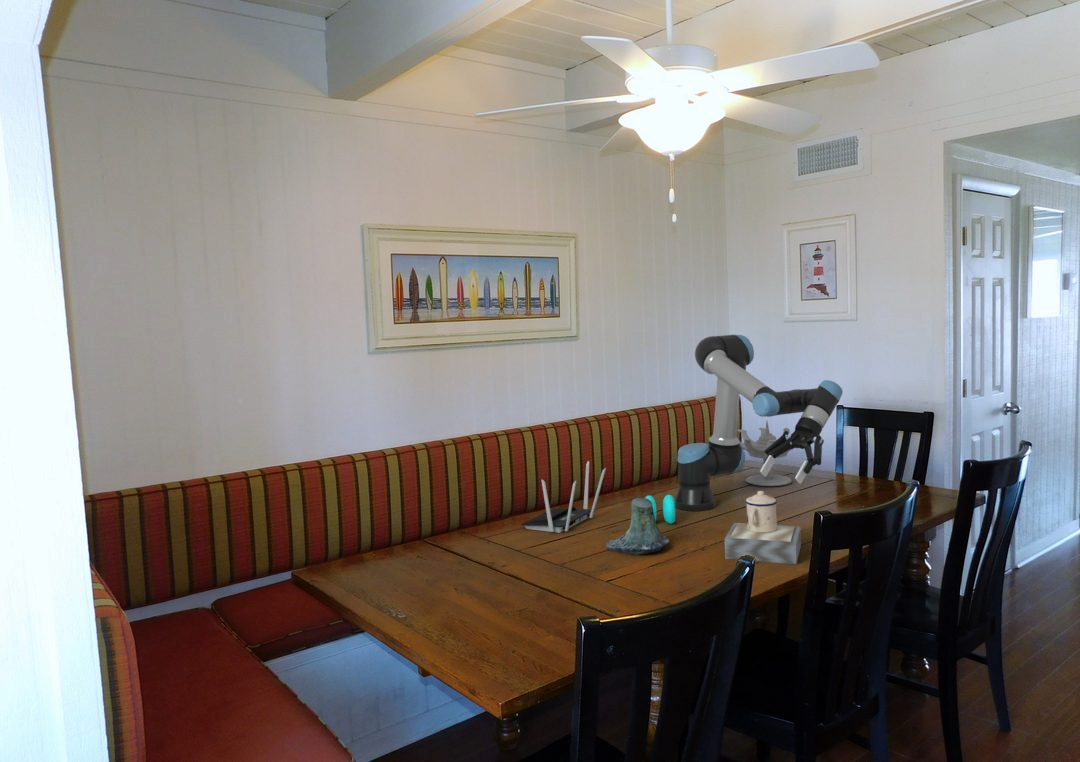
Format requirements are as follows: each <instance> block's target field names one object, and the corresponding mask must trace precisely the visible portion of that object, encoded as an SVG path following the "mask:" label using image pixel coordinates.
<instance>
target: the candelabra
mask: <svg viewBox="0 0 1080 762" xmlns="http://www.w3.org/2000/svg"><path fill="white" fill-rule="evenodd" d="M765 424H766V425H765V427H758V430H760V436H759V437H758V439H757V440H756V441H754V440H752V439H751V438H750V437H749V436H748V432H747V430H745V429H739V428H738V429H737V432H738V433H741V435H740V436H741V438H742V439H743V440H744V441H743V442H741V441H740V445H741V446H742V447H743V449H744V450H743V451H746V452H747V453H748V455H749V456H750V457H753V458H758V459H762V461H763V462H764V461H765V459H766V458H767V455H766V453H765V452H764V451H765V450H766V449H767V448H768V447H769V446H770V445H772V444H773V443H774V442H775V441H776V440H777V437H776V436H775V435H774V434H772V433H770V429H769V423H768V421H766V423H765ZM782 430H783V431H782V434H783V433H784V432H785V431H787V432H788V433H790V434H791V432H790V428H788V427H784V428H783V429H782ZM790 444H791V445H792V443H791V442H790ZM792 450H793V449H790V450H788V451H786V452H785V453H783V454H781V455H780V456H778V457H776V458H775V459H780V458H784V457H786V456H788V453H789V452H791V451H792ZM773 455H774V454H773ZM745 482H746V483H748V484H750V485H753V486H760V487H778V486H779V487H781V486H786V485H789V484H791V483H792V482H793V480H792V478H791V477H789V476H787V475H780V474H773V466H772V467H771V469H770V471H769V472H768V474H767V476H766V477H764V476H763V475H762V474H755V475H751V476H748V477H746V478H745Z"/></svg>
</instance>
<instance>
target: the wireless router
mask: <svg viewBox="0 0 1080 762" xmlns="http://www.w3.org/2000/svg"><path fill="white" fill-rule="evenodd" d="M585 465H586V466H585V479H584V493H583V494H584V495H583V506H582V507H583V508H580V507H579V508H575V506H573V505H574V498H575V493H576V486H577V480H574V482H573V483H572V488H571V493H570V498H569V499H570V500H569V505H568V507H565V508H553V509H551V508H550V502H549V498H548V491H547V486H546V484H547V483H546V481H545V480H544V479H540V480H541V486H542V491H543V492H542V493H543V498H544V504H545V511H546V512H544V513H542V514H540V515H537V516H534V517H533V518H531V519H529V520H527V521H524V522H522V523H521V526H523V527H524V528H525V529H526V530H534V531H541V532H550V533H558V534H559V533H562V532H564V531H565V532H569V530H570V528H572V527H574V526H576V525H578V524H579V523H581V522H583V521H585V520H587V519H588V518H590V519H592V518H593V517H594V513H595V510H596V506H597V502H598V498H599V496H600V492H601V491H600V490H601V487H602V485H603V480H604V478H605V474H606V471H607V467H604V469H602V471H601V474H600V477H599V481H598V484H597V489H596V491H595V496H594V499H593V503H592V507H591V509H589V508H588V505H589V503H588V502H589V480H590V479H589V476H590V475H589V474H590V461H589V460H588V461H587V462H586V464H585Z"/></svg>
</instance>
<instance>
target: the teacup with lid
mask: <svg viewBox="0 0 1080 762" xmlns="http://www.w3.org/2000/svg"><path fill="white" fill-rule="evenodd" d="M776 499H777V498H775V497H772V496H770V495H768V494H765V492H764V491H763V490H757V493H756V494H754V495H751V496H749V497H747V498H746V499H745V504H746V523H747V528H748V530H750V531H753V532H758V533H768V532H773V531H775V530H776V529H777V525H778V520H777V502H778V501H777V500H776Z"/></svg>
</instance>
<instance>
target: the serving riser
mask: <svg viewBox="0 0 1080 762" xmlns="http://www.w3.org/2000/svg"><path fill="white" fill-rule="evenodd" d="M801 527H802V526H795V525H780V524H777V529H776V530H775V531H773V532H768V533H758V532H753V531H750V530H748V528H747V522H745V523H743V522H738V523H737V522H734V523H733V524H732V526H731V528H729V531H728V532H727V534H726V536H725V537H724V558H725V560H737V561H739V560H738V559H739V558H740V557H741V556H745V555H750V556H753V557H755V559H756V561H755V562H764V563H775V564H788V565H789V564H790V565H797V563H798V559H799V556H800V550H801V547H802V541H801V540H802V538H801V537H802V535H801V533H802V532H801V530H802V529H801Z"/></svg>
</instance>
